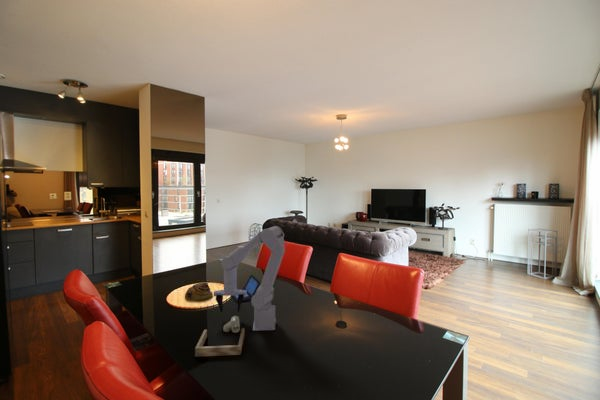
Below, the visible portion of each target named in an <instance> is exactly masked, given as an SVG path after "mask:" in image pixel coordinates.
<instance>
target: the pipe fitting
mask: <svg viewBox="0 0 600 400" xmlns="http://www.w3.org/2000/svg"><path fill="white" fill-rule="evenodd" d="M222 330H223V332H226V333H229V332H230V331H231V332H232V333H235V334H236V333H239V332H241V327H240V317H239V316H237V315H233V316H232V317H231V318H230V321H228V322H227V323H225V324H224V325H223V329H222Z"/></svg>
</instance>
